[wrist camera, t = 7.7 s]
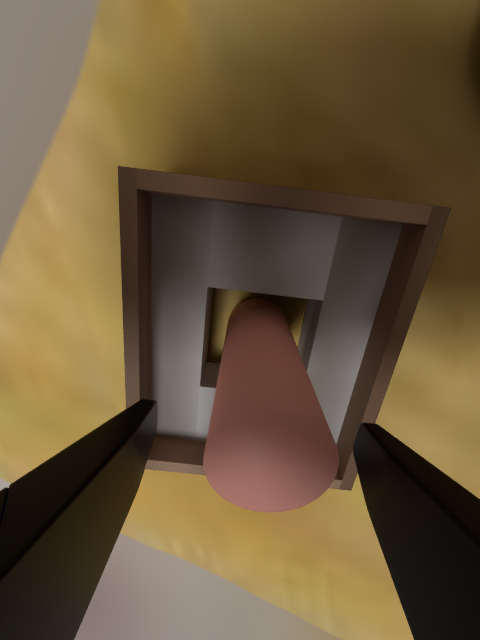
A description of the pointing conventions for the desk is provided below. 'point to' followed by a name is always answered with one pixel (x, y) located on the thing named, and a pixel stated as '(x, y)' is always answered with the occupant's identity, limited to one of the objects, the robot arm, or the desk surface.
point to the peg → (266, 418)
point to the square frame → (268, 278)
